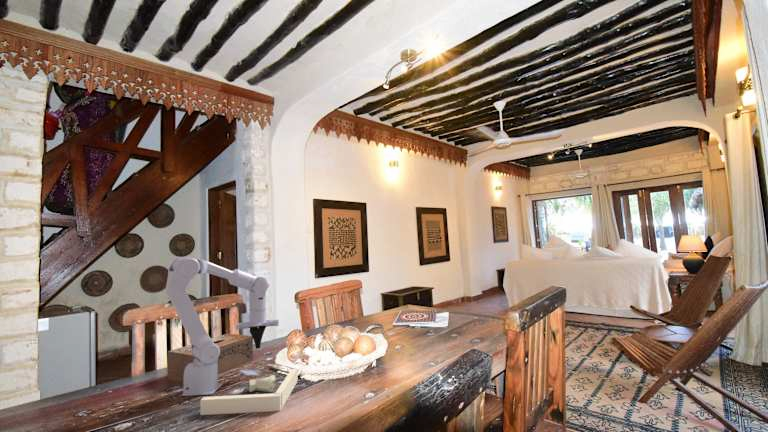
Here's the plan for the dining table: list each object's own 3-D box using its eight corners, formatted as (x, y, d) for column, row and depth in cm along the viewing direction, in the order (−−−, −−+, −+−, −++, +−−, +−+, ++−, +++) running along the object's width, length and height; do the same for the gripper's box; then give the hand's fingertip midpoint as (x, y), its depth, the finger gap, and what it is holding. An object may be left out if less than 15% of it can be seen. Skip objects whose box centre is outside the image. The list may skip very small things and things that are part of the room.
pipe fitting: (277, 393, 108) (273, 384, 114) (277, 380, 108) (273, 372, 114) (251, 399, 105) (248, 390, 111) (251, 386, 105) (248, 378, 111)
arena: (200, 415, 95) (200, 400, 95) (232, 384, 116) (232, 372, 116) (280, 410, 95) (280, 396, 96) (297, 380, 116) (297, 368, 116)
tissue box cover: (228, 357, 146) (228, 333, 147) (253, 361, 140) (252, 336, 140) (167, 380, 123) (167, 351, 124) (194, 385, 116) (194, 355, 117)
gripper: (234, 313, 120) (234, 353, 119) (277, 309, 123) (278, 348, 122) (237, 310, 127) (238, 347, 126) (278, 306, 130) (279, 343, 129)
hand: (258, 347), depth 124 cm, fingers closed
